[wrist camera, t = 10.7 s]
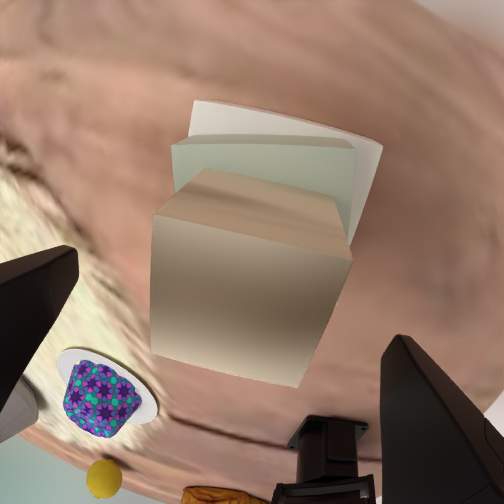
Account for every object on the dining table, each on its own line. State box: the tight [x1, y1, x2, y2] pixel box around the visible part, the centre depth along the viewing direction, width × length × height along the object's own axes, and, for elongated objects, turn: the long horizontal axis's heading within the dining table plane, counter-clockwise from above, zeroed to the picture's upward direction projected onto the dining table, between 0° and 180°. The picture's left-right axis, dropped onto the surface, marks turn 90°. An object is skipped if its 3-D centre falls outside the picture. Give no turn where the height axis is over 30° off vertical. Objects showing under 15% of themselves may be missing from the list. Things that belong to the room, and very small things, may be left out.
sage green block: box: [171, 134, 357, 306], centre depth 14 cm, size 7×7×3 cm
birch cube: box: [150, 168, 353, 388], centre depth 11 cm, size 5×5×5 cm
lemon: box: [86, 459, 122, 499], centre depth 37 cm, size 6×6×8 cm
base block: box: [188, 99, 384, 247], centre depth 17 cm, size 9×9×3 cm
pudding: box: [57, 349, 158, 438], centre depth 27 cm, size 12×12×5 cm
